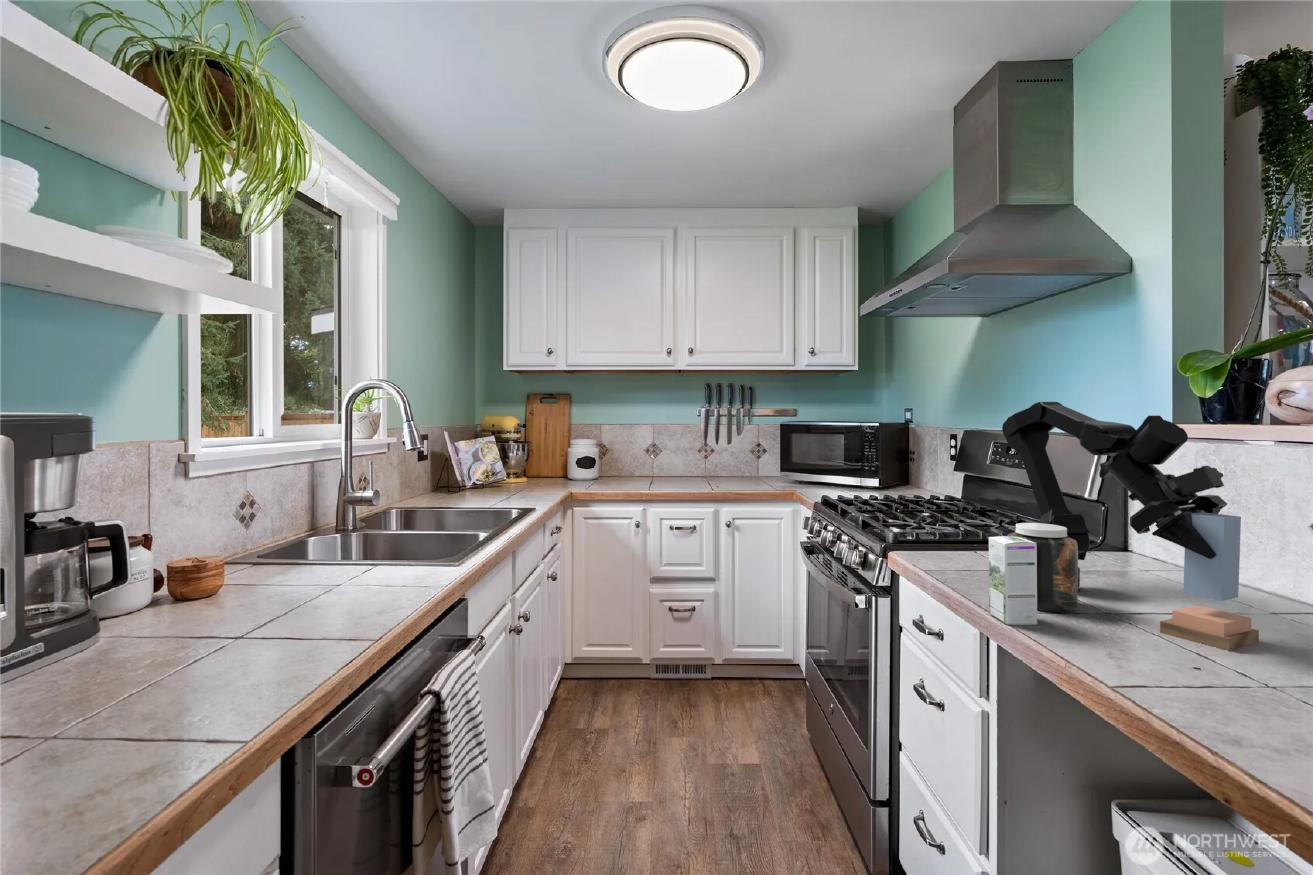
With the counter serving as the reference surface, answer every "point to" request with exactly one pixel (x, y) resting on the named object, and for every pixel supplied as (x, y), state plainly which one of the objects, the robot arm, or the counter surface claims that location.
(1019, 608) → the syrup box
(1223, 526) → the slate blue block
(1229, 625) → the terracotta block
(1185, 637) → the walnut block
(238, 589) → the counter surface
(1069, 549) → the jar
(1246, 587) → the counter surface
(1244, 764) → the counter surface
